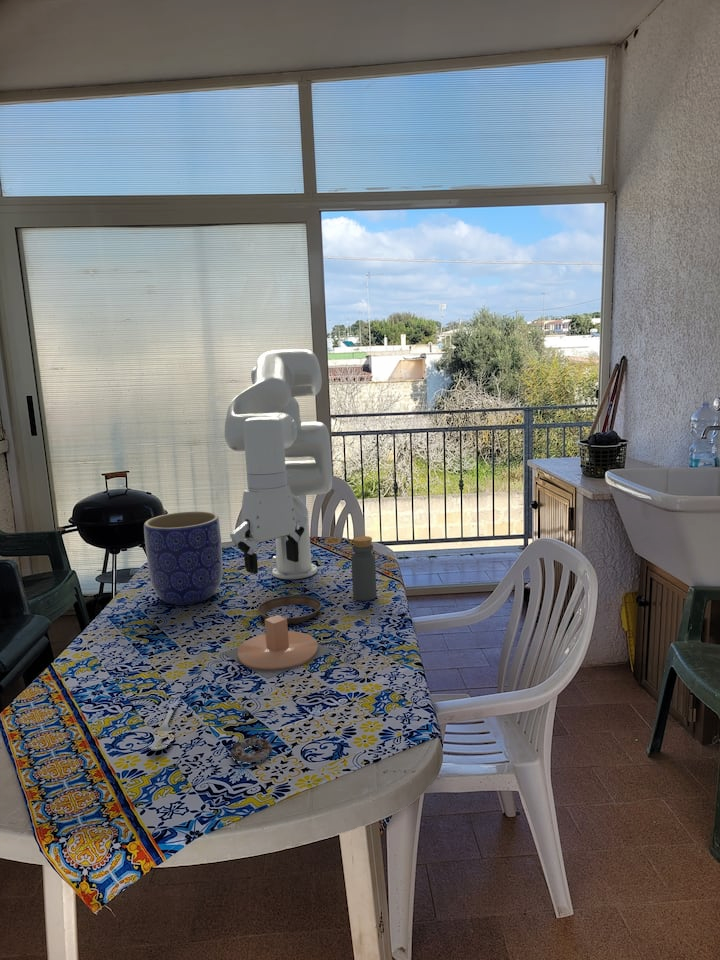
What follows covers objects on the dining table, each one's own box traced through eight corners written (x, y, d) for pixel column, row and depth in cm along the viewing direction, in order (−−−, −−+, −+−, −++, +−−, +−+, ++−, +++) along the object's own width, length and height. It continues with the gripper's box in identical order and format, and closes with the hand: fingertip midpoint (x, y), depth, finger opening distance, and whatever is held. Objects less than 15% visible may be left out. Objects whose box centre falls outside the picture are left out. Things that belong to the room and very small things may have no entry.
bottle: (377, 592, 165) (375, 535, 162) (375, 601, 159) (373, 541, 157) (354, 592, 166) (351, 535, 163) (351, 601, 160) (349, 541, 157)
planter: (215, 609, 158) (208, 527, 154) (140, 612, 159) (131, 529, 155) (232, 584, 176) (226, 509, 173) (165, 586, 177) (157, 512, 173)
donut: (289, 752, 100) (288, 740, 99) (254, 781, 93) (253, 768, 93) (248, 736, 104) (247, 725, 104) (212, 763, 98) (211, 750, 97)
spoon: (143, 760, 99) (142, 750, 99) (167, 693, 119) (166, 685, 119) (171, 757, 99) (170, 747, 99) (190, 691, 119) (190, 682, 119)
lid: (222, 653, 132) (219, 620, 131) (286, 629, 143) (284, 598, 142) (267, 678, 121) (265, 643, 119) (333, 650, 131) (332, 617, 130)
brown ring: (301, 600, 162) (300, 590, 162) (334, 618, 150) (333, 606, 150) (247, 616, 154) (246, 605, 153) (277, 635, 142) (276, 623, 142)
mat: (222, 655, 133) (222, 652, 132) (287, 631, 143) (286, 629, 143) (267, 681, 121) (267, 678, 121) (334, 653, 131) (333, 650, 131)
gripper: (291, 472, 134) (296, 553, 137) (217, 485, 123) (224, 573, 126) (314, 476, 129) (319, 560, 132) (238, 490, 117) (245, 581, 120)
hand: (272, 566), depth 129 cm, fingers open, 9 cm apart
